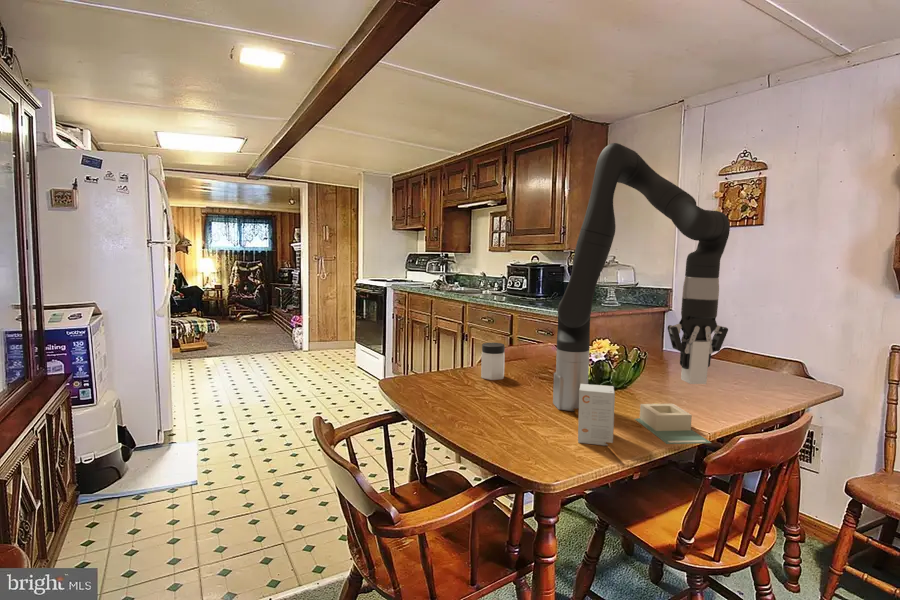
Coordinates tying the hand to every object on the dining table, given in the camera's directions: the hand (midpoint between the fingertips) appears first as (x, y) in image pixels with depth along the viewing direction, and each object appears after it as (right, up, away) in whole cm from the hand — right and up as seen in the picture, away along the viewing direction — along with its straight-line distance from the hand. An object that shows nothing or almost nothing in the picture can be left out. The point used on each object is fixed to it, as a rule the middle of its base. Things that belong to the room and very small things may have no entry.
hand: (694, 368), depth 114 cm
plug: (0, -3, 0) cm, 3 cm away
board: (-3, -18, +7) cm, 19 cm away
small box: (-23, -18, +3) cm, 29 cm away
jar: (-43, -12, +60) cm, 75 cm away
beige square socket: (-2, -16, +11) cm, 20 cm away
